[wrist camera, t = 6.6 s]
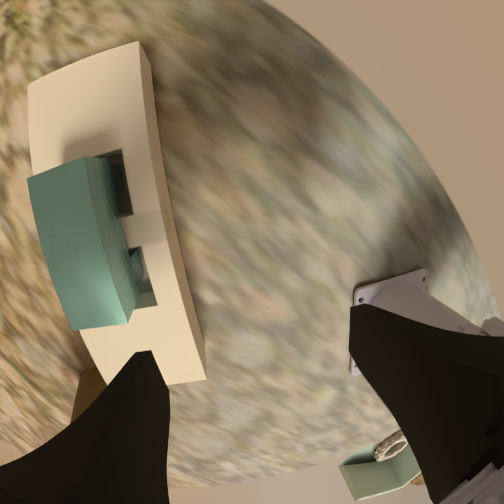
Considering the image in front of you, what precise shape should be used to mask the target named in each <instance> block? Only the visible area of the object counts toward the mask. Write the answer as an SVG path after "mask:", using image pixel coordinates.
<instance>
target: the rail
mask: <svg viewBox="0 0 504 504" xmlns="http://www.w3.org/2000/svg"><path fill="white" fill-rule="evenodd" d="M28 126H29V142H30V152H31V162H32V169H33V176H34V175H37V174H39V173H42V172H44V171H47V170H49V169H52V168H54V167H57V166H59V165H62V164H65V163H67V162H70V161H73V160H76V159H79V158H82V157H96V158H108V159H109V164H120V167H121V173H122V179H123V184H124V190H125V192H121V193H118V194H115V197H116V202H117V207H118V212H119V216H120V221H121V225H122V229H123V233H124V237H125V241H126V245H127V249H128V250H133V249H138V252H139V256H140V259H141V263H142V267H143V270H144V276H143V278H142V280H141V282H140V284H139V286H138V288H139V291H140V296H139V298H138V301H137V303H136V305H135V308H134V310H133V312H132V315H131V317H130V319H129V322H128V323H127V324H120V325H113V326H106V327H98V328H90V329H82V330H79V331H80V334H81V336H82V338H83V340H84V342H85V344H86V346H87V348H88V350H89V352H90V354H91V356H92V358H93V360H94V362H95V364H96V366H97V368H98V370H99V372H100V373H101V375H102V377H103V379H104V381H105V382H106V384H107V386H108V384H109V383H110V382H111V381H112V379H113V378H114V377H115V376H116V375H117V373H118V372H119V371H120V370H121V368H122V367H123V366H124V365H125V364H126V362H127V361H128V360H129V359H130V358H131V356H132V355H133V354H134V353H135V352H140V351H148V350H151V351H152V353H153V356H154V358H155V360H156V363H157V365H158V367H159V370H160V372H161V374H162V376H163V379H164V381H165V383H166V385H171V384H179V383H186V382H193V381H200V380H206V379H207V374H206V357H205V343H204V340H203V336H202V333H201V329H200V326H199V322H198V319H197V315H196V311H195V308H194V304H193V300H192V296H191V292H190V288H189V284H188V280H187V276H186V272H185V268H184V264H183V259H182V255H181V251H180V246H179V242H178V237H177V233H176V228H175V223H174V218H173V213H172V208H171V203H170V198H169V193H168V187H167V182H166V176H165V170H164V164H163V158H162V152H161V145H160V138H159V132H158V124H157V117H156V109H155V100H154V92H153V82H152V72H151V65H150V63H149V61H148V59H147V56H146V54H145V52H144V50H143V48H142V46H141V44H140V42H139V41H136V42H133V43H129V44H126V45H122V46H119V47H116V48H112V49H109V50H106V51H103V52H100V53H98V54H95V55H92V56H89V57H87V58H84V59H82V60H79V61H77V62H74V63H72V64H69V65H67V66H65V67H63V68H60V69H58V70H56V71H54V72H52V73H50V74H48V75H46V76H44V77H42V78H40V79H38V80H36V81H34V82H32V83H30V84H28Z"/></svg>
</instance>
